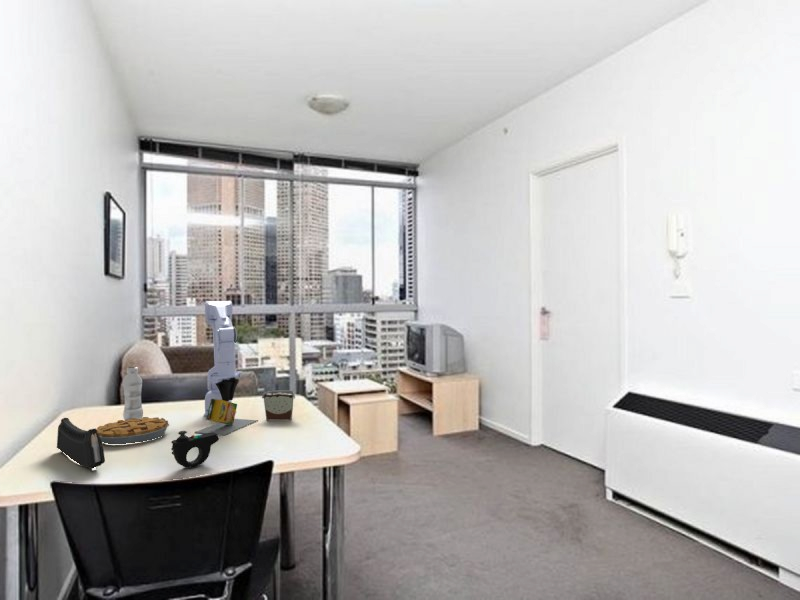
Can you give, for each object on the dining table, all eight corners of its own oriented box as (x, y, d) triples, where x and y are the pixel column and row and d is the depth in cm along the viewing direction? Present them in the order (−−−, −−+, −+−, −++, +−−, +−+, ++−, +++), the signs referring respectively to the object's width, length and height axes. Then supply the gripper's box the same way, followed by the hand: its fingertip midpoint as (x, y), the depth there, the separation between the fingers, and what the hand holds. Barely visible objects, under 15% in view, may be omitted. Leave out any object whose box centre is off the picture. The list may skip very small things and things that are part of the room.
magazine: (53, 421, 152) (84, 405, 133) (66, 419, 154) (98, 403, 135) (60, 479, 149) (92, 471, 130) (72, 475, 151) (106, 467, 132)
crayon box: (233, 424, 177) (212, 421, 167) (226, 424, 178) (205, 420, 168) (238, 403, 179) (217, 398, 169) (231, 403, 180) (210, 398, 170)
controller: (169, 470, 133) (168, 432, 133) (214, 458, 142) (213, 423, 142) (176, 474, 130) (175, 435, 130) (221, 461, 139) (220, 425, 139)
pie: (155, 425, 181) (155, 411, 181) (179, 437, 165) (179, 421, 165) (86, 438, 165) (85, 423, 165) (104, 452, 150) (104, 436, 150)
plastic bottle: (119, 422, 185) (117, 368, 184) (135, 418, 191) (133, 365, 191) (131, 424, 182) (130, 369, 182) (147, 419, 188) (146, 366, 188)
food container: (300, 416, 189) (299, 389, 189) (295, 420, 183) (294, 393, 183) (268, 416, 191) (267, 389, 190) (262, 420, 185) (261, 393, 184)
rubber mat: (194, 433, 169) (194, 432, 169) (229, 419, 187) (229, 418, 187) (224, 435, 165) (224, 434, 165) (257, 421, 183) (257, 420, 183)
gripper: (223, 364, 168) (224, 405, 168) (248, 359, 182) (249, 397, 182) (205, 364, 170) (206, 404, 170) (232, 359, 184) (233, 396, 184)
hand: (227, 400), depth 176 cm, fingers closed
